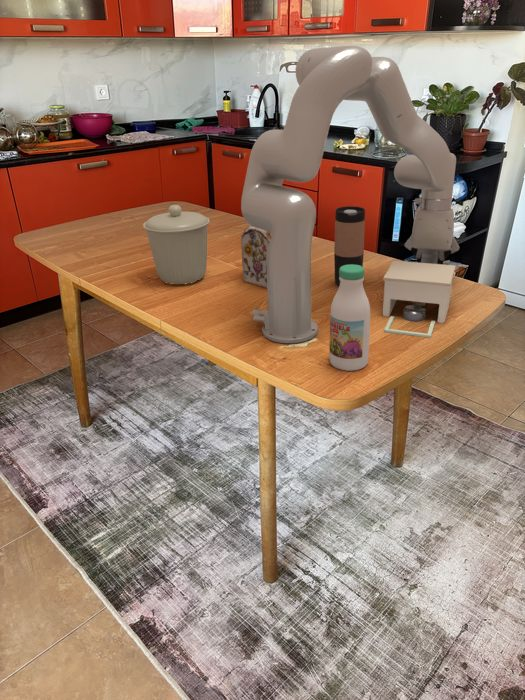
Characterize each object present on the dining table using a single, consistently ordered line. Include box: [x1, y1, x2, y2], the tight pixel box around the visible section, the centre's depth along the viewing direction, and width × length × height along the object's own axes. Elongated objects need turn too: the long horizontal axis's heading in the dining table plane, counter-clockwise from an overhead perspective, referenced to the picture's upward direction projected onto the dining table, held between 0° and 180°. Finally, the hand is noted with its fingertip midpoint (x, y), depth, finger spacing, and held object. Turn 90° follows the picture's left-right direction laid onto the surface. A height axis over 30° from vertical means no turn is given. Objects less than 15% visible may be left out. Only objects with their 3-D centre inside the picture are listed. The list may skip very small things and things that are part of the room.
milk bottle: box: [328, 264, 371, 372], centre depth 108 cm, size 8×8×20 cm
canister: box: [142, 204, 211, 285], centre depth 155 cm, size 18×18×21 cm
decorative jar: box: [240, 223, 272, 289], centre depth 152 cm, size 12×12×18 cm
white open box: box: [382, 260, 456, 324], centre depth 132 cm, size 15×13×10 cm
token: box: [402, 304, 427, 323], centre depth 130 cm, size 5×5×2 cm
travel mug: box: [333, 205, 366, 288], centre depth 147 cm, size 8×8×20 cm
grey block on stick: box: [411, 249, 439, 307], centre depth 143 cm, size 4×22×10 cm, turn 158°
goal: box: [383, 315, 436, 339], centre depth 126 cm, size 10×8×1 cm
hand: (429, 271), depth 150 cm, fingers closed on grey block on stick, 4 cm apart
